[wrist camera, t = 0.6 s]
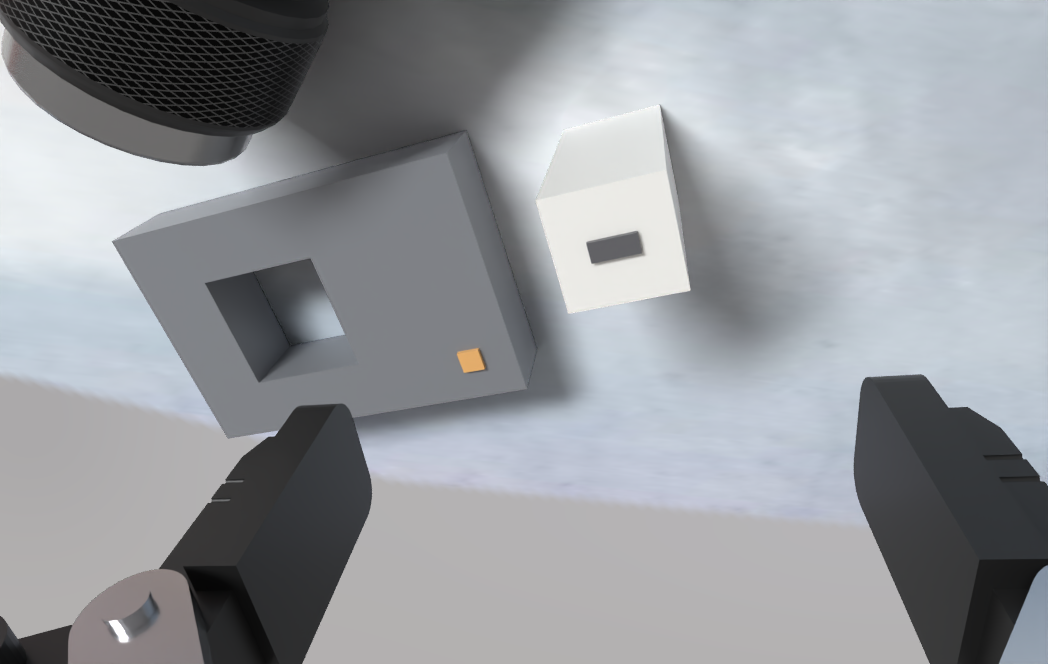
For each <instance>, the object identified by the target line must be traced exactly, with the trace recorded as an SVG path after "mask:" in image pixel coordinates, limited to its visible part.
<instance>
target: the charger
mask: <svg viewBox="0 0 1048 664" xmlns="http://www.w3.org/2000/svg"><path fill="white" fill-rule="evenodd" d="M536 205H537V208H538V211H539V215H540V218H541V222H542V225H543V229H544V232H545V235H546V239H547V242H548V246H549V249H550V253H551V256H552V259H553V263H554V266H555V270H556V273H557V277H558V280H559V283H560V287H561V290H562V294H563V297H564V301H565V304H566V307H567V311H568V314H571V313H576V312H581V311H587V310H592V309H597V308H602V307H608V306H613V305H618V304H623V303H628V302H634V301H639V300H644V299H649V298H655V297H660V296H665V295H670V294H676V293H681V292H686V291H691V290H690V282H689V275H688V267H687V260H686V252H685V245H684V237H683V230H682V222H681V215H680V207H679V200H678V194H677V189H676V184H675V179H674V174H673V169H672V164H671V159H670V154H669V148H668V143H667V138H666V133H665V128H664V123H663V118H662V113H661V108H660V104H659V105H655V106H652V107H648V108H644V109H640V110H636V111H633V112H629V113H625V114H621V115H617V116H613V117H610V118H606V119H602V120H598V121H594V122H591V123H587V124H583V125H579V126H575V127H571V128H568V129H564V130H563V132H562V135H561V137H560V140H559V143H558V145H557V148H556V150H555V153H554V155H553V158H552V160H551V163H550V165H549V168H548V170H547V173H546V175H545V178H544V180H543V183H542V185H541V188H540V190H539V193H538V196H537V198H536Z"/></svg>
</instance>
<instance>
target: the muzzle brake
mask: <svg viewBox="0 0 1048 664" xmlns="http://www.w3.org/2000/svg"><path fill="white" fill-rule="evenodd" d="M328 8H329V3H328V0H0V21H1V23H2V24H3V25H4V27H5V30H4V35H3V39H2V57H3V60H4V62H5V65H6V67H7V70H8V72H9V74H10V76H11V77H12V78H13V80H14V81H15V82H16V84H17V85H18V87H19V88H20V89H21V90H22V91H23V92H24V93H25V94H26V95H27V96H28V97H29V98H30V99H31V100H32V101H33V102H34V103H35V104H36V105H37V106H39V107H40V108H42V109H43V110H44V111H46V112H47V113H48V114H50V115H51V116H52V117H54V118H55V119H57V120H58V121H60V122H62V123H63V124H65V125H67V126H69V127H70V128H72V129H74V130H76V131H77V132H79V133H81V134H83V135H85V136H87V137H90V138H92V139H94V140H96V141H98V142H101V143H103V144H105V145H107V146H110V147H113V148H116V149H119V150H121V151H124V152H127V153H130V154H133V155H136V156H140V157H144V158H148V159H152V160H155V161H159V162H166V163H172V164H179V165H192V166H207V165H215V164H221V163H224V162H227V161H229V160H232V159H234V158H236V157H237V156H238V155H240V154H241V153H242V152H243V151H244V150H246V148H247V146H248V144H249V142H250V139H251V137H252V135H253V134H254V133H257V132H260V131H263V130H265V129H267V128H269V127H271V126H273V125H275V124H276V123H277V122H278V121H280V120H281V119H282V118H283V117H284V116H285V115H286V114H287V112H288V110H289V108H290V106H291V104H292V102H293V100H294V98H295V96H296V94H297V92H298V90H299V88H300V86H301V84H302V81H303V79H304V77H305V75H306V73H307V71H308V69H309V67H310V65H311V63H312V61H313V59H314V57H315V55H316V53H317V50H318V48H319V46H320V44H321V42H322V40H323V38H324V36H325V33H326V31H327V28H328V20H327V14H326V12H327V10H328Z"/></svg>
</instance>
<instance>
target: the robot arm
mask: <svg viewBox="0 0 1048 664" xmlns="http://www.w3.org/2000/svg"><path fill="white" fill-rule="evenodd" d="M1039 477H1040V476H1039V475H1038V473H1037V472H1036V471H1035V470H1034V468H1033V467H1032V466H1031V465H1030V463H1029V462H1028V461H1027V460H1026V459H1023V458H1022V453H1021V452H1020V451H1019V450H1018V448H1017V447H1016V446H1015V445H1014V443H1013V442H1012V441H1011V440H1010V438H1009V437H1008V436H1007V435H1006V433H1005V432H1004V431H1003V430H1002V429H1001V428H1000V427H998V426H997V425H995V424H994V423H992V422H990V421H989V420H987V419H986V418H984V417H982V416H981V415H979V414H978V413H976V412H975V411H973V410H971V409H970V408H968V407H958V408H948V407H947V405H946V404H945V402H944V401H943V400H942V398H941V397H940V396H939V394H938V393H937V391H936V390H935V389H934V387H933V386H932V385H931V383H930V382H929V380H928V379H927V378H926V377H925V376H924V375H921V374H920V375H901V376H882V377H867V378H865V379H864V381H863V383H862V386H861V392H860V402H859V412H858V423H857V433H856V444H855V454H854V479H855V486H856V492H857V496H858V499H859V502H860V505H861V507H862V510H863V512H864V514H865V517H866V519H867V521H868V523H869V526H870V528H871V530H872V533H873V535H874V537H875V539H876V542H877V544H878V546H879V548H880V551H881V553H882V555H883V557H884V560H885V562H886V564H887V567H888V569H889V571H890V573H891V576H892V578H893V581H894V582H895V585H896V587H897V590H898V592H899V594H900V596H901V599H902V601H903V603H904V605H905V608H906V610H907V612H908V614H909V617H910V619H911V622H912V624H913V626H914V628H915V631H916V633H917V635H918V637H919V640H920V642H921V644H922V647H923V649H924V651H925V654H926V656H927V658H928V660H929V663H930V664H1048V486H1047V484H1046V483H1045V482H1041V481H1040V478H1039ZM371 499H372V486H371V478H370V474H369V471H368V468H367V464H366V461H365V458H364V454H363V451H362V448H361V444H360V441H359V438H358V434H357V431H356V428H355V424H354V421H353V418H352V415H351V412H350V410H349V408H348V407H347V406H346V405H345V404H341V403H340V404H320V405H301V406H298V407H296V408H295V409H294V410H293V412H292V413H291V414H290V416H289V417H288V419H287V420H286V422H285V423H284V424H283V426H282V427H281V429H280V430H279V431H278V433H277V434H276V436H275V437H268V438H266V439H265V440H264V441H262V442H261V443H260V444H258V445H257V446H256V447H255V448H253V449H252V450H251V451H249V452H248V453H247V454H246V455H244V456H243V457H242V458H241V460H240V461H239V462H238V463H237V465H236V466H235V467H234V469H233V470H232V471H231V473H230V474H229V476H228V477H227V479H226V483H225V484H222V485H221V486H220V488H219V489H218V490H217V492H216V493H215V494H214V496H213V497H212V502H211V503H208V504H207V505H206V506H205V508H204V509H203V510H202V512H201V513H200V514H199V516H198V517H197V518H196V520H195V521H194V522H193V524H192V525H191V526H190V528H189V529H188V530H187V532H186V533H185V535H184V536H183V538H182V539H181V540H180V541H179V543H178V544H177V545H176V547H175V548H174V550H173V551H172V552H171V553H170V555H169V556H168V557H167V559H166V560H165V561H164V563H163V564H162V565H161V567H160V568H159V569H155V570H149V571H145V572H141V573H138V574H135V575H132V576H130V577H127V578H125V579H123V580H121V581H119V582H117V583H116V584H114V585H112V586H111V587H109V588H107V589H106V590H105V591H103V592H102V593H100V594H99V595H98V596H97V597H95V598H94V599H93V600H92V601H91V602H90V603H89V604H88V605H87V606H86V607H85V608H84V609H83V610H82V611H81V613H80V614H79V616H78V617H77V618H76V620H75V622H74V623H73V625H69V626H66V627H62V628H58V629H55V630H51V631H47V632H43V633H39V634H36V635H32V636H28V637H24V638H21V639H17V637H16V636H15V635H14V633H13V632H12V630H11V629H10V627H9V626H8V624H7V623H6V621H5V620H4V619H3V618H2V617H1V616H0V664H302V663H303V661H304V658H305V655H306V653H307V652H308V649H309V647H310V645H311V643H312V640H313V638H314V636H315V634H316V631H317V629H318V627H319V625H320V622H321V620H322V618H323V615H324V613H325V611H326V609H327V607H328V604H329V602H330V600H331V598H332V595H333V593H334V591H335V589H336V586H337V584H338V582H339V579H340V577H341V575H342V573H343V570H344V568H345V566H346V564H347V562H348V559H349V557H350V555H351V553H352V550H353V548H354V545H355V543H356V541H357V539H358V537H359V534H360V532H361V530H362V528H363V526H364V523H365V521H366V519H367V517H368V514H369V510H370V506H371Z"/></svg>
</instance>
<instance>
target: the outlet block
mask: <svg viewBox="0 0 1048 664" xmlns="http://www.w3.org/2000/svg"><path fill="white" fill-rule="evenodd" d="M112 243H113V244H114V246H115V248H116V249H117V251H118V253H119V254H120V256H121V258H122V259H123V261H124V263H125V265H126V266H127V268H128V270H129V271H130V273H131V275H132V276H133V278H134V280H135V282H136V283H137V285H138V287H139V288H140V290H141V292H142V293H143V295H144V297H145V299H146V300H147V302H148V304H149V305H150V307H151V309H152V310H153V312H154V314H155V316H156V317H157V319H158V321H159V322H160V324H161V326H162V327H163V329H164V331H165V333H166V334H167V336H168V338H169V339H170V341H171V343H172V344H173V346H174V348H175V350H176V351H177V353H178V355H179V356H180V358H181V360H182V361H183V363H184V365H185V367H186V368H187V370H188V372H189V373H190V375H191V377H192V378H193V380H194V382H195V384H196V385H197V387H198V389H199V390H200V392H201V394H202V395H203V397H204V399H205V401H206V402H207V404H208V406H209V407H210V409H211V411H212V412H213V414H214V416H215V418H216V419H217V421H218V423H219V424H220V426H221V428H222V429H223V431H224V433H225V435H226V436H227V438H234V437H240V436H246V435H252V434H258V433H265V432H271V431H277V430H280V429H281V427H282V426H283V424H284V423H285V422H286V420H287V419H288V417H289V416H290V414H291V413H292V412H293V410H294V409H295V408H296V407H298V406H301V405H320V404H340V403H341V404H345V405H346V406H347V407H348V408H349V410H350V412H351V415H352V418H356V417H362V416H368V415H374V414H380V413H386V412H392V411H398V410H404V409H410V408H416V407H422V406H428V405H434V404H440V403H447V402H453V401H459V400H465V399H471V398H477V397H483V396H489V395H495V394H501V393H507V392H513V391H519V390H525V389H527V388H528V384H529V380H530V376H531V372H532V368H533V364H534V360H535V356H536V352H537V348H536V344H535V341H534V338H533V335H532V332H531V329H530V326H529V323H528V320H527V317H526V313H525V310H524V307H523V304H522V301H521V298H520V295H519V292H518V289H517V286H516V282H515V279H514V276H513V273H512V270H511V267H510V264H509V261H508V258H507V254H506V251H505V248H504V245H503V242H502V239H501V236H500V233H499V230H498V227H497V223H496V220H495V217H494V214H493V211H492V208H491V205H490V202H489V199H488V196H487V192H486V189H485V186H484V183H483V180H482V177H481V174H480V171H479V168H478V165H477V161H476V158H475V155H474V152H473V149H472V146H471V143H470V140H469V137H468V134H467V130H466V131H463V132H459V133H455V134H452V135H448V136H444V137H441V138H437V139H433V140H429V141H426V142H422V143H418V144H415V145H411V146H407V147H404V148H400V149H396V150H393V151H389V152H385V153H382V154H378V155H374V156H371V157H367V158H363V159H359V160H356V161H352V162H348V163H345V164H341V165H337V166H334V167H330V168H326V169H323V170H319V171H315V172H312V173H308V174H304V175H301V176H297V177H293V178H289V179H286V180H282V181H278V182H275V183H271V184H267V185H264V186H260V187H256V188H253V189H249V190H245V191H242V192H238V193H234V194H231V195H227V196H223V197H220V198H216V199H212V200H208V201H205V202H201V203H197V204H194V205H190V206H186V207H183V208H179V209H175V210H172V211H168V212H164V213H161V214H158V215H156V216H154V217H153V218H151V219H149V220H148V221H146V222H144V223H143V224H141V225H139V226H137V227H136V228H134V229H132V230H131V231H129V232H127V233H125V234H124V235H122V236H120V237H119V238H117V239H115V240H113V241H112ZM309 258H310V259H311V261H312V263H313V265H314V267H315V269H316V272H317V274H318V276H319V278H320V280H321V283H322V285H323V287H324V289H325V291H326V293H327V296H328V298H329V300H330V302H331V304H332V307H333V309H334V311H335V313H336V315H337V317H338V320H339V322H340V324H341V326H342V328H343V331H344V333H345V335H342V336H337V337H332V338H327V339H322V340H317V341H312V342H307V343H302V344H297V345H292V346H290V345H289V343H288V341H287V339H286V337H285V335H284V333H283V331H282V329H281V327H280V325H279V323H278V321H277V319H276V317H275V315H274V313H273V311H272V309H271V307H270V305H269V303H268V301H267V299H266V297H265V295H264V293H263V291H262V289H261V287H260V285H259V283H258V281H257V279H256V277H255V275H254V273H253V272H254V271H258V270H262V269H267V268H271V267H275V266H279V265H284V264H288V263H292V262H296V261H301V260H305V259H309Z"/></svg>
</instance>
